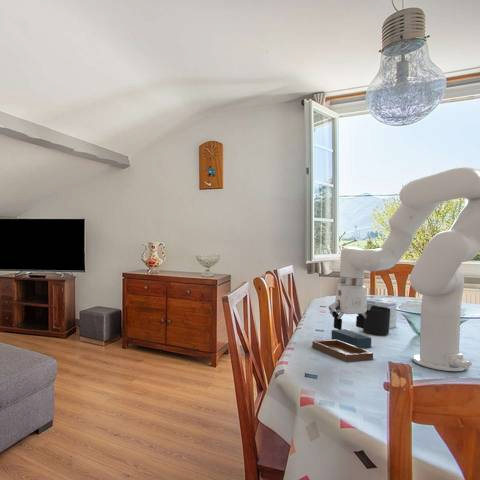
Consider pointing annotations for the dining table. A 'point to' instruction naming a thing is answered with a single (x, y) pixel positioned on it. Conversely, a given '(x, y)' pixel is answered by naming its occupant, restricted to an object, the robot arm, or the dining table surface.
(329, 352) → the frame
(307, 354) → the dining table surface
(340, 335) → the back pad
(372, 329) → the pen holder
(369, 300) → the light bulb box
